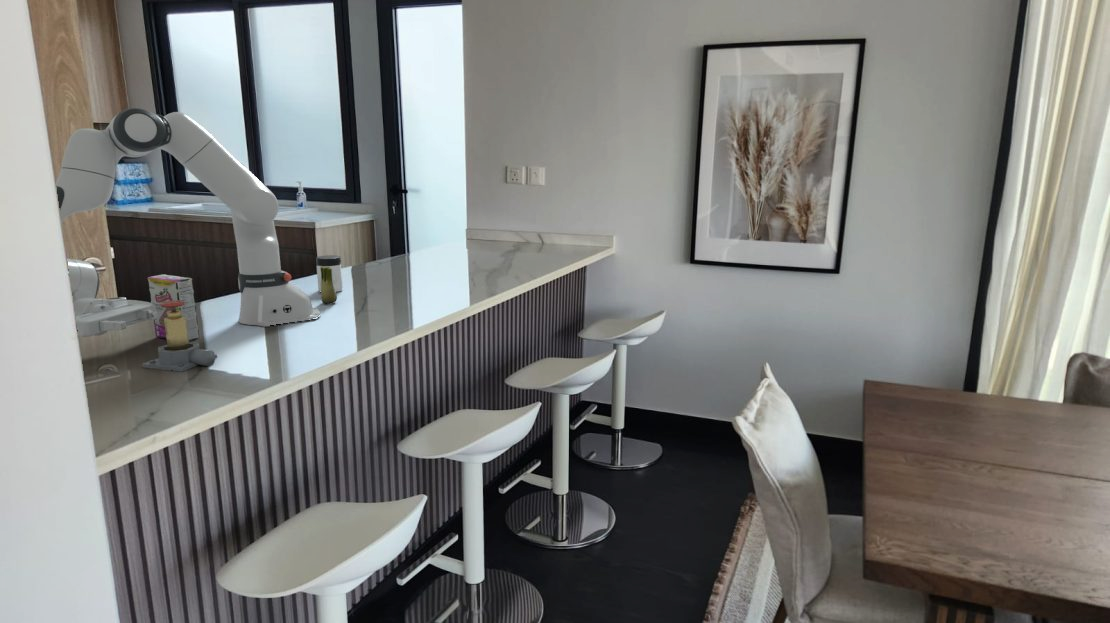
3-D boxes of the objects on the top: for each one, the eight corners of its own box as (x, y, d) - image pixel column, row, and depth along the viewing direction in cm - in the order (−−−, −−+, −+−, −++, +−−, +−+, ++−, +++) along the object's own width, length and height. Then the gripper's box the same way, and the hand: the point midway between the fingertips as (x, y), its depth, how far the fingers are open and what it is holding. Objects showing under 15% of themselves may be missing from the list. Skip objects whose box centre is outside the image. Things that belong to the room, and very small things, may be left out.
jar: (324, 294, 236) (321, 259, 233) (313, 290, 241) (310, 257, 238) (348, 290, 242) (345, 257, 239) (337, 287, 247) (334, 254, 245)
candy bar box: (154, 337, 182) (146, 277, 178) (171, 333, 186) (163, 273, 182) (183, 343, 177) (176, 280, 173) (200, 338, 182) (193, 277, 178)
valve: (192, 355, 164) (185, 299, 161) (191, 360, 160) (183, 303, 157) (169, 357, 162) (161, 301, 159) (167, 363, 158) (159, 305, 155)
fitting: (142, 367, 158) (140, 351, 157) (179, 353, 168) (177, 338, 167) (192, 372, 154) (190, 356, 153) (227, 358, 164) (225, 343, 163)
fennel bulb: (321, 301, 224) (318, 265, 222) (336, 300, 226) (334, 264, 223) (321, 305, 219) (319, 268, 216) (337, 304, 221) (335, 267, 218)
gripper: (50, 313, 154) (99, 318, 151) (126, 295, 174) (171, 299, 170) (54, 340, 156) (103, 345, 152) (130, 319, 175) (175, 323, 172)
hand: (140, 320), depth 161 cm, fingers open, 8 cm apart
